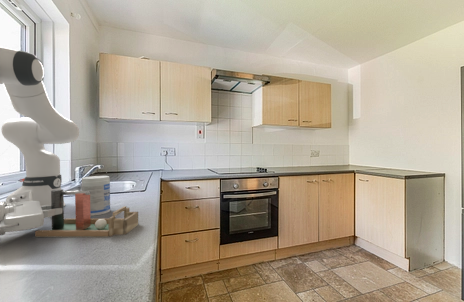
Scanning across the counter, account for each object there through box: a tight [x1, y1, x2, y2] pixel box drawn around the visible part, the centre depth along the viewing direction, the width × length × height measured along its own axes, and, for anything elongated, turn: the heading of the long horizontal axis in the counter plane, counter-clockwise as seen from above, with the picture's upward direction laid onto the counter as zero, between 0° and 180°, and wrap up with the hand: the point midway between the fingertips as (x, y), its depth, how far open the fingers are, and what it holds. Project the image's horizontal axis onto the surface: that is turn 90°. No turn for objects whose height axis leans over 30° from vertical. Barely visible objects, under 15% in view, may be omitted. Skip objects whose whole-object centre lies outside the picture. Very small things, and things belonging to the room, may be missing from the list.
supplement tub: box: [80, 175, 111, 217], centre depth 84 cm, size 10×10×15 cm
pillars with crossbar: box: [50, 188, 92, 230], centre depth 66 cm, size 12×3×12 cm, turn 90°
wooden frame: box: [108, 205, 139, 237], centre depth 66 cm, size 4×11×7 cm, turn 179°
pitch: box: [34, 217, 124, 238], centre depth 67 cm, size 21×11×2 cm, turn 90°
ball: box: [95, 218, 107, 229], centre depth 66 cm, size 3×3×3 cm
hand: (61, 208), depth 67 cm, fingers closed on pillars with crossbar, 3 cm apart
